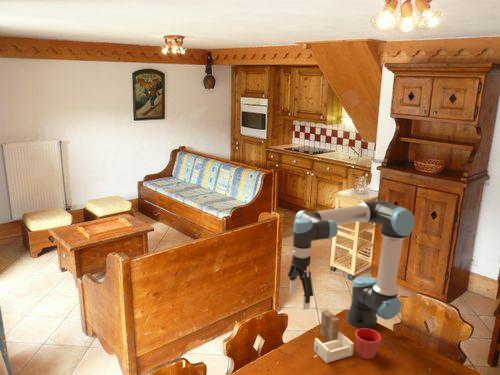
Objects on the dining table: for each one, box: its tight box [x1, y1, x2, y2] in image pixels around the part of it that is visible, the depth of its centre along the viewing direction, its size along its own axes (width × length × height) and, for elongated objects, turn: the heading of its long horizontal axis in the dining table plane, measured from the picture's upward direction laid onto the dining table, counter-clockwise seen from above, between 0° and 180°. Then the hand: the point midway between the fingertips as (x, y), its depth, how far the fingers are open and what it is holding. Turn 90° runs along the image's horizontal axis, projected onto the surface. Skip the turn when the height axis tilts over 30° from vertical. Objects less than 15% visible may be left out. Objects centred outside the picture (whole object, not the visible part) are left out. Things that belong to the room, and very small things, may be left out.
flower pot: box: [355, 328, 382, 360], centre depth 195 cm, size 11×11×10 cm
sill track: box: [313, 331, 355, 364], centre depth 195 cm, size 14×10×6 cm
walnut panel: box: [319, 309, 340, 342], centre depth 206 cm, size 9×4×12 cm, turn 25°
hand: (299, 301), depth 186 cm, fingers open, 13 cm apart
